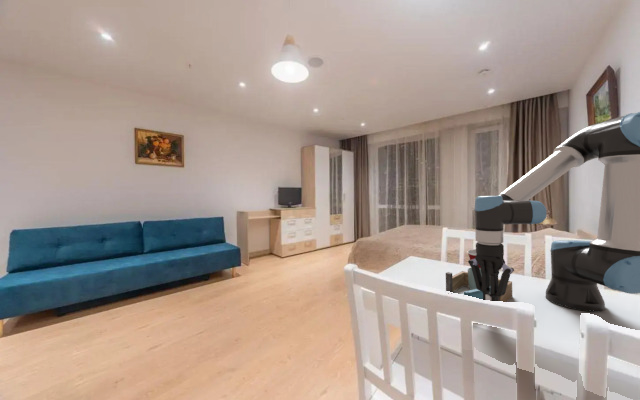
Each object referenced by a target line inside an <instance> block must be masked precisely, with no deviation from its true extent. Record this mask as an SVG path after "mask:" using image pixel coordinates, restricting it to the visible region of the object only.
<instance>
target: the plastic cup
mask: <svg viewBox="0 0 640 400" xmlns="http://www.w3.org/2000/svg"><path fill="white" fill-rule="evenodd" d="M466 253H467V254H468V257H469V260H473V259H475V257H476V255H477V253H476V248H475V249H468V250H467V251H466ZM478 266H479V264H478ZM479 268H481V267H480V266H479Z"/></svg>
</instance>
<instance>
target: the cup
mask: <svg viewBox="0 0 640 400" xmlns="http://www.w3.org/2000/svg"><path fill="white" fill-rule="evenodd" d="M479 269H480V273H481V268H479ZM467 272H468V285H469V286H468V288H469V290H474V289H477V288H476V284H475V280H474V276H473V272H472V268H471V267H468V268H467ZM481 276H482V273H481Z"/></svg>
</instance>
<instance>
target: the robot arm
mask: <svg viewBox="0 0 640 400" xmlns="http://www.w3.org/2000/svg"><path fill="white" fill-rule="evenodd" d="M552 152H553V153H552V154H551V155H549V156H548V157H547V158H546V159H544V160H543V161H541V162H540V163H539V164H538V165H537V166H535V167H533V168H532V169H531V170H529V171H528V172H527V173H526V174H525V175H523V176H522V177H520V178H519V179H518V180H516V181H515V182H514V183H512V184H511V185H509V186H508V187H507V188H506V189H504V190H503V191H502V192H501V193H499V194H498V195H479V196H476V198H475V200H474V217H475V218H474V219H475V220H474V223H475V225H474V226H475V230H474V231H475V241H476V243H475V249H476V253H477V255H476V257H475V259H473V260H470V259H469V260H468V264H469V266H470V268H472V272H473V276H474V280H475V284H476V288H477V289H478V290H480V291H482V293H483V300H490V301H498V296H502V295H505V292H506V288H507V285H508V281H510V278H511V277H510V276H511V275H512V273H514V272H515V269H514V268H513V267H510V266H508V265H507V264H506V261H505V258H504V255H505V253H504V252H505V248H504V244H503V243H504V225H533V224H534V225H535V224H536V225H538V224H541V223H543V222H544V221H545V220H546V218H547V215H548V214H547V207H546V206H545V205H544V203H542V202H541V201H539V200H530V199H532V198H533V197H534V196H536V195H538V193H540V192H541V191H542V190H544V189H545V188H547V187H548V186H549V185H551V184H552V183H554V182H555V181H556V180H557V179H559V178H560V177H562V176H563V175H565V174H566V173H568V172H569V171H570V170H571V169H572V168H573V169H574V168H578V167H581V166H582V165H584V164H585V163H586V162H589V161H591V160H595V159H598V161H599V162H600V163H602V164H603V166H604V168H603V169H604V170H603V180H602V189H601V198H600V210H599V218H598V228H597V235H596V236H597V237H596V238H595V239H594V240H572V239H571V240H569V239H568V240H567V239H564V240H554V241H553V242H551V245H550V250H549V251H550V264H551V265H550V266H551V279H550V281H549V283H548V285H547V288H546V290H545V298H546V299H547V300H548V301H550V302H551V303H554V304H556V305H558V306H561V307H565V308H567V309H573V310H577V311H584V312H594V313H595V312H598V313H599V312H603V311H605V310H606V308H605V307H606V302H605V300H604V298H603V296H602V294H601V292H600V289H599V286H598V285H600V286H603V287H606V288H607V289H610V290H612V291H618V292H621V293H625V294H629V295H630V294H631V295H635V294H636V295H637V294H640V111H638V112H633V113H628V114H625V115H622V116H619V117H616V118H612V119H609V120H605V121H602V122H596V123H594V124H591V125H589V126H586V127H585V128H582V129H581V130H579V131H577V132H576V133H574V134H572V136H569V138H567V139H566V140H565V141H563V142H562V143H560V144H559V145H557V147H555V148H554V149H553V151H552ZM478 264H479V266H480V267H481V273H482V276H481V273H480V269H479V266H478ZM501 269H502V270H501ZM500 270H501V271H502V273H501V275H500V278H499V274H500ZM498 279H500V283H499V286H498ZM489 292H490V293H489Z"/></svg>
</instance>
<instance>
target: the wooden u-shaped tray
mask: <svg viewBox="0 0 640 400" xmlns="http://www.w3.org/2000/svg"><path fill="white" fill-rule="evenodd" d="M500 279H501V278H498V286H499V283H500ZM464 286H465V287H469V285H468V271H464V270H462V271H459V272H458V273H456V274H454V275H453V272H449V271H447V272H445V292H446V291H450V292H453V293H454V292H455V291H458V290H459V289H461V288H463V287H464ZM512 297H513V281H510V280H509V281H508V285H507V288H506V292H505V295H502V296H498V301H503V302H506V303H507V302H509V300H511V298H512Z"/></svg>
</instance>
